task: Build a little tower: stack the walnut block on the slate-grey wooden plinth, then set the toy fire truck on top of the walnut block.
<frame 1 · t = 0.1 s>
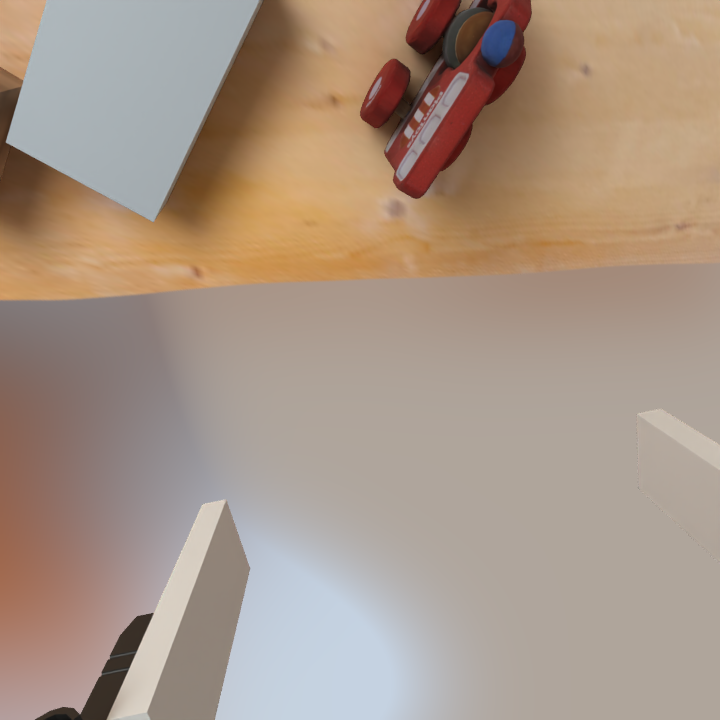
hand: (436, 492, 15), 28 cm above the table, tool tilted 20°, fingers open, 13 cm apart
toy fire truck: (433, 76, 33), on the table
plinth: (147, 59, 30), on the table
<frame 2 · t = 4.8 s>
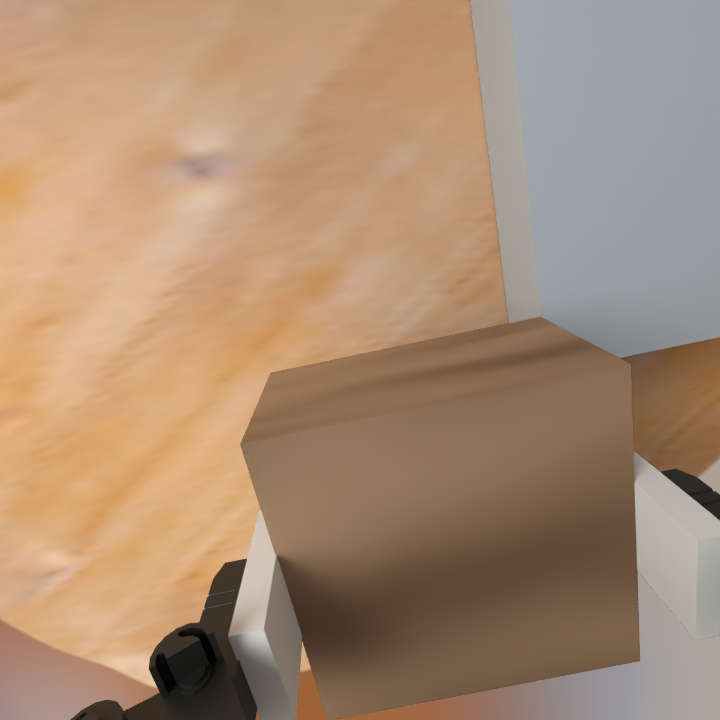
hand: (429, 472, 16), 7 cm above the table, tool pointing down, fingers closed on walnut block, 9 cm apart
plinth: (593, 150, 20), on the table
walnut block: (426, 464, 17), point 7 cm above the table, touching gripper
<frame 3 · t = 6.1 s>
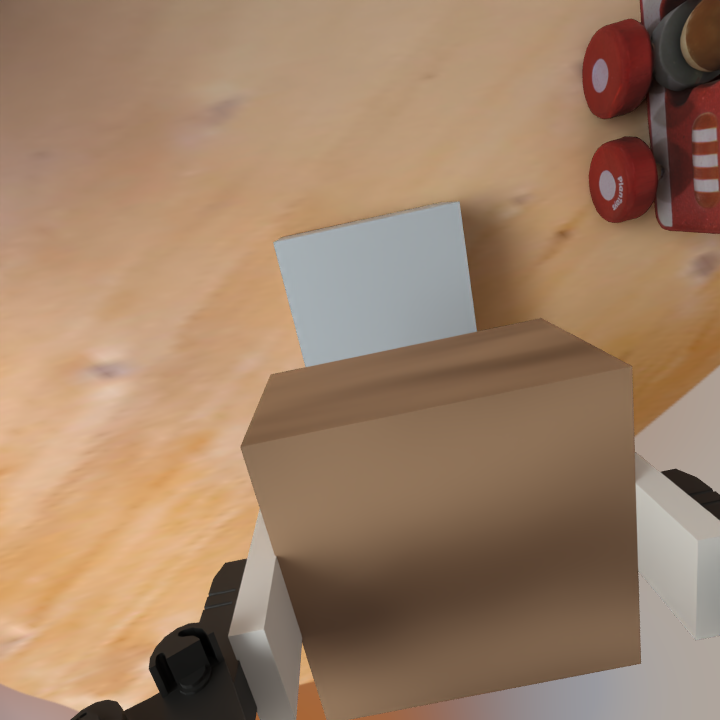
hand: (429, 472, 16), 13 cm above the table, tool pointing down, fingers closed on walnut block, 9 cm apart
toy fire truck: (642, 118, 26), on the table
plinth: (388, 354, 29), on the table
walnut block: (426, 465, 17), point 13 cm above the table, touching gripper
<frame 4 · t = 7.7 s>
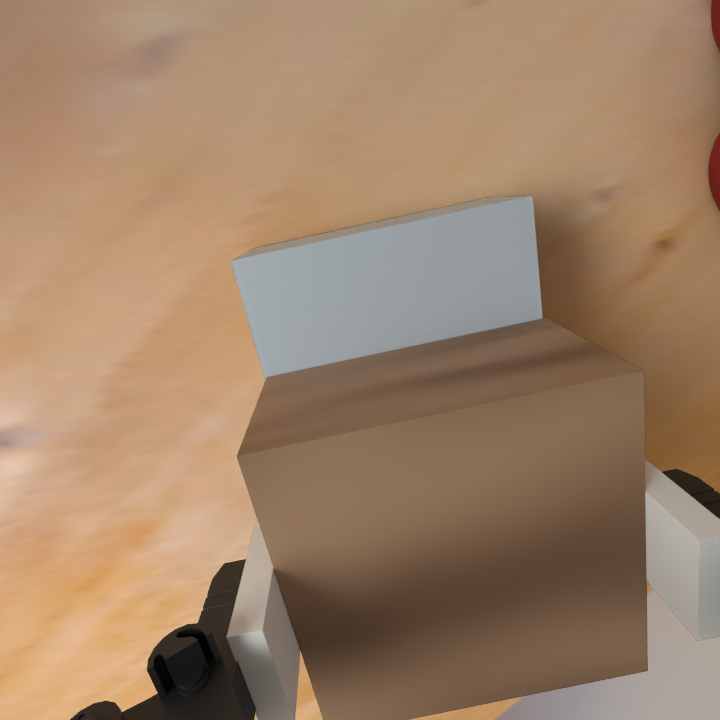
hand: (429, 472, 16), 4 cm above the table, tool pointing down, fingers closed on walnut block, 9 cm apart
plinth: (407, 414, 20), on the table
walnut block: (427, 468, 16), point 4 cm above the table, touching gripper, plinth
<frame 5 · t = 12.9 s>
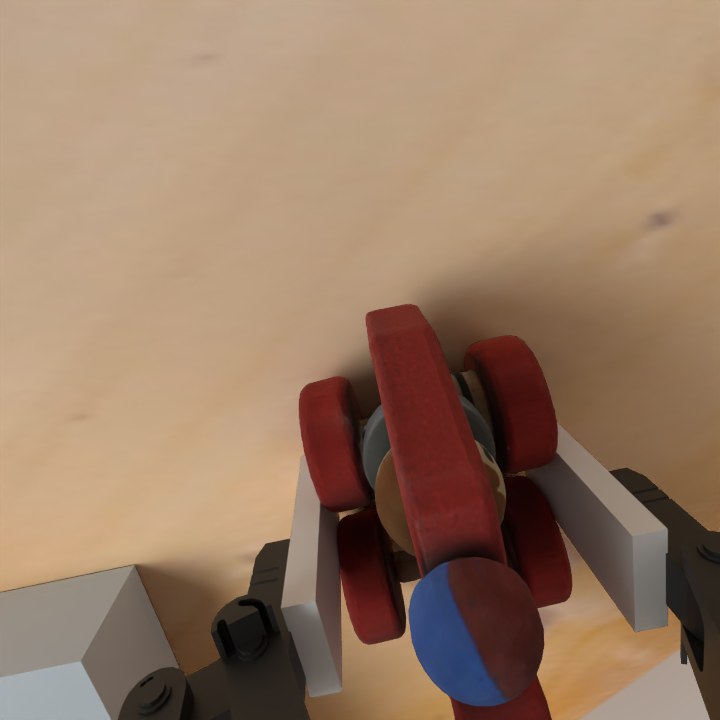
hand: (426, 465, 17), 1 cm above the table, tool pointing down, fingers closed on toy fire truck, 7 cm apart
toy fire truck: (421, 454, 17), on the table, touching gripper
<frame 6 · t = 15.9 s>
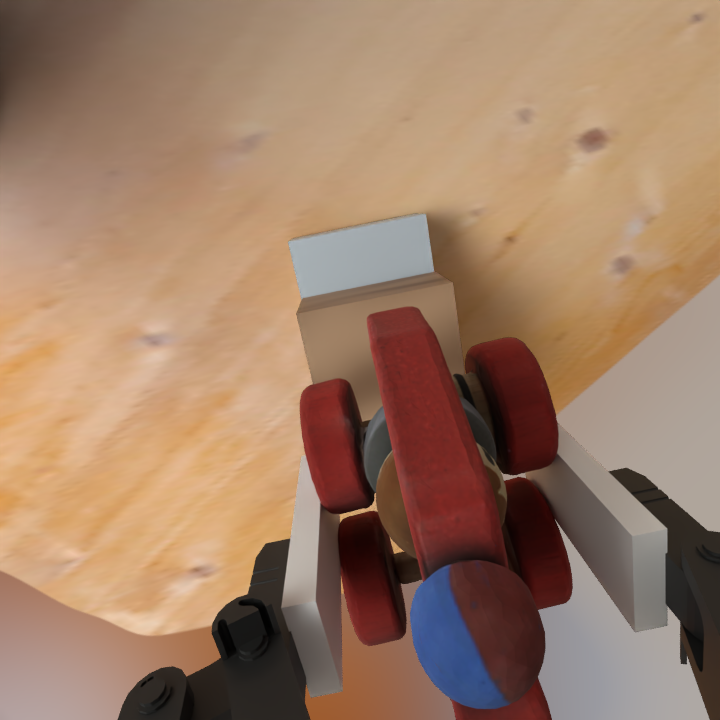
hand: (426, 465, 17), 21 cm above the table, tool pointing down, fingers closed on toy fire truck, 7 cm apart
toy fire truck: (422, 455, 17), point 20 cm above the table, touching gripper
plinth: (374, 331, 37), on the table
walnut block: (380, 348, 33), point 4 cm above the table, touching plinth
when the fingers open (10 cm above the table, at t = 18.8 s): toy fire truck stays where it is, resting on walnut block.
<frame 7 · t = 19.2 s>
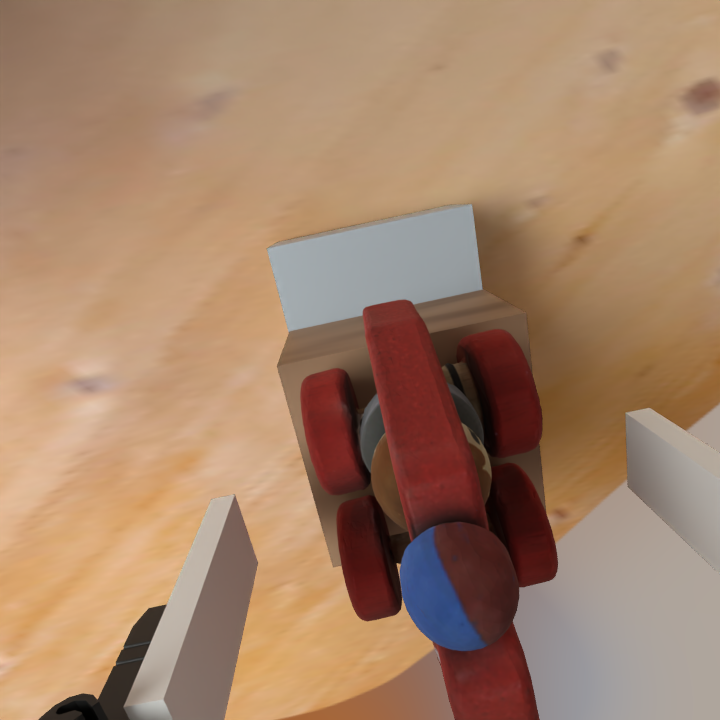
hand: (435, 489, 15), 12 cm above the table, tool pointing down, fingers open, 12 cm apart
toy fire truck: (417, 443, 18), point 9 cm above the table, touching walnut block
plinth: (392, 368, 27), on the table
walnut block: (403, 399, 23), point 4 cm above the table, touching plinth, toy fire truck
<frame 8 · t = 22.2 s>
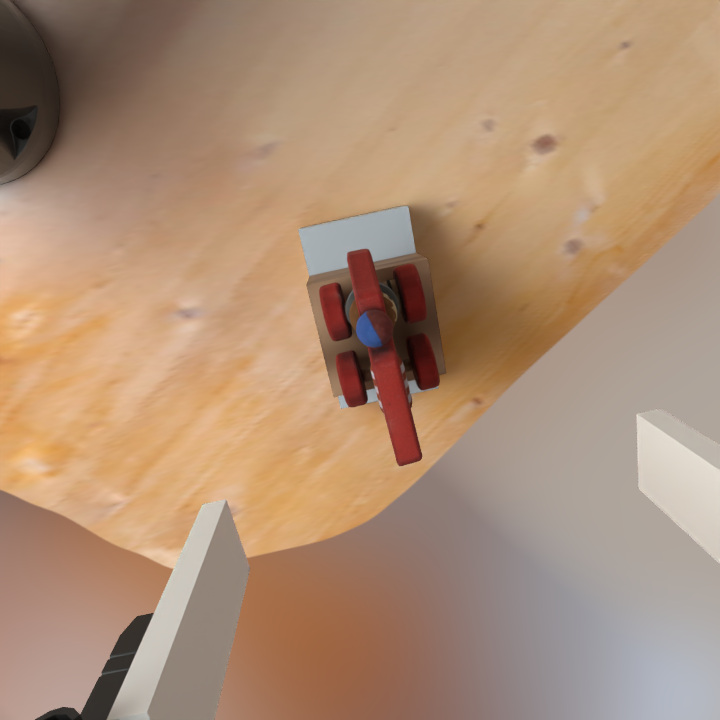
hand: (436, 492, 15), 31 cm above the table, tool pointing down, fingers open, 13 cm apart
toy fire truck: (376, 327, 36), point 9 cm above the table, touching walnut block
plinth: (369, 304, 44), on the table
walnut block: (373, 316, 40), point 4 cm above the table, touching plinth, toy fire truck
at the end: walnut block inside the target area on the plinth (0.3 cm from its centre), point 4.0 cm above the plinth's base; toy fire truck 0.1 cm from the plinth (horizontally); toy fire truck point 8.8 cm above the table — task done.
